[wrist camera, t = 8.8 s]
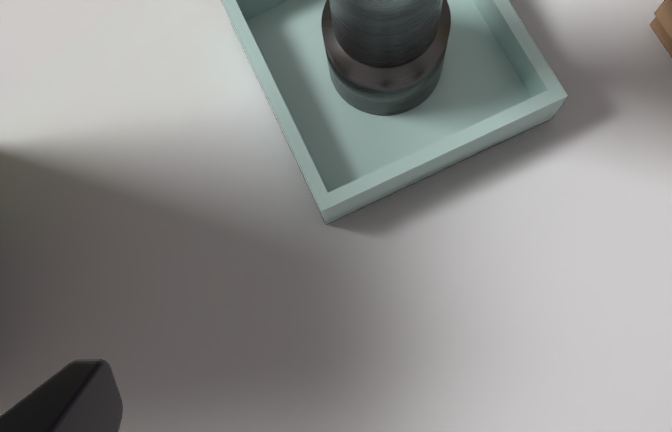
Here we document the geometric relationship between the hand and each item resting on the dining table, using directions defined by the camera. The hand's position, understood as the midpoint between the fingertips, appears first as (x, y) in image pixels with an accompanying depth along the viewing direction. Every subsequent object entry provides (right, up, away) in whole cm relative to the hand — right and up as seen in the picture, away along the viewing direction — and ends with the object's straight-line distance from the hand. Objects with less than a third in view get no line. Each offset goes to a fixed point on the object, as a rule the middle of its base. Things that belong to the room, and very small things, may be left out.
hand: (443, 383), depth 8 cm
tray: (0, +8, +16) cm, 18 cm away
